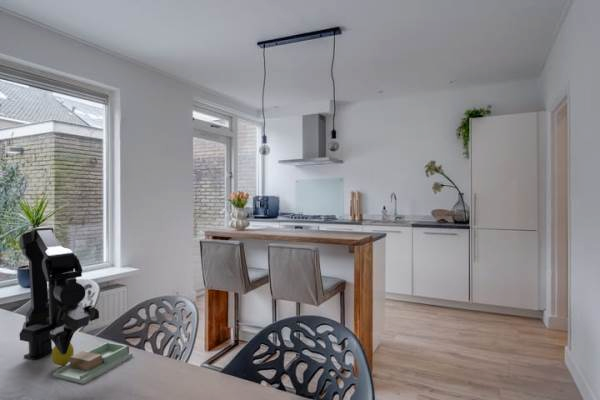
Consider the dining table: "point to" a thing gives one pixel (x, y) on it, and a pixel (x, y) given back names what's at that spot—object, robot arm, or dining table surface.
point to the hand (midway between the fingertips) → (63, 353)
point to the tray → (110, 358)
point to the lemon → (62, 356)
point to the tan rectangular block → (85, 360)
